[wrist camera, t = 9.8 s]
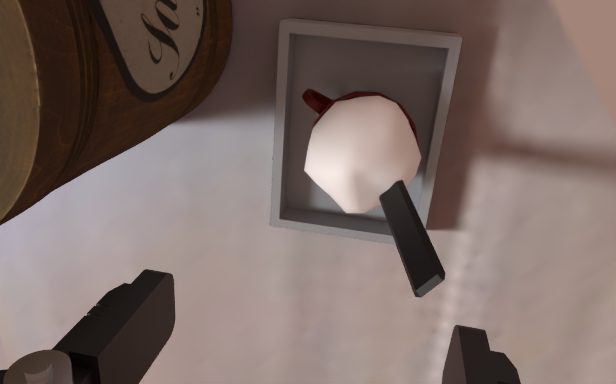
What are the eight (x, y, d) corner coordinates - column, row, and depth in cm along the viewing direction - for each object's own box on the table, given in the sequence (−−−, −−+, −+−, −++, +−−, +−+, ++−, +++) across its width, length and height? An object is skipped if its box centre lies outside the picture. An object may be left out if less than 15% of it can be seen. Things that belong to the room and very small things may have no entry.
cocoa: (296, 91, 31) (224, 143, 20) (388, 46, 28) (363, 77, 18) (359, 218, 33) (325, 327, 22) (448, 186, 31) (459, 289, 20)
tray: (457, 33, 28) (462, 37, 26) (420, 230, 33) (421, 248, 31) (288, 17, 29) (279, 20, 27) (278, 210, 35) (269, 225, 32)
